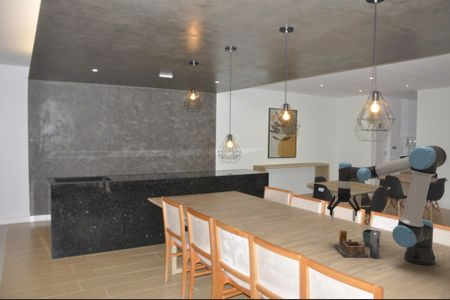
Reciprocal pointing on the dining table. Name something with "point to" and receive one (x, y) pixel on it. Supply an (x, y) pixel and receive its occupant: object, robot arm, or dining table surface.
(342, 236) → the lock pin
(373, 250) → the grey metal cylinder
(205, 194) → the dining table surface
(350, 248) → the dock
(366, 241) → the flower pot
